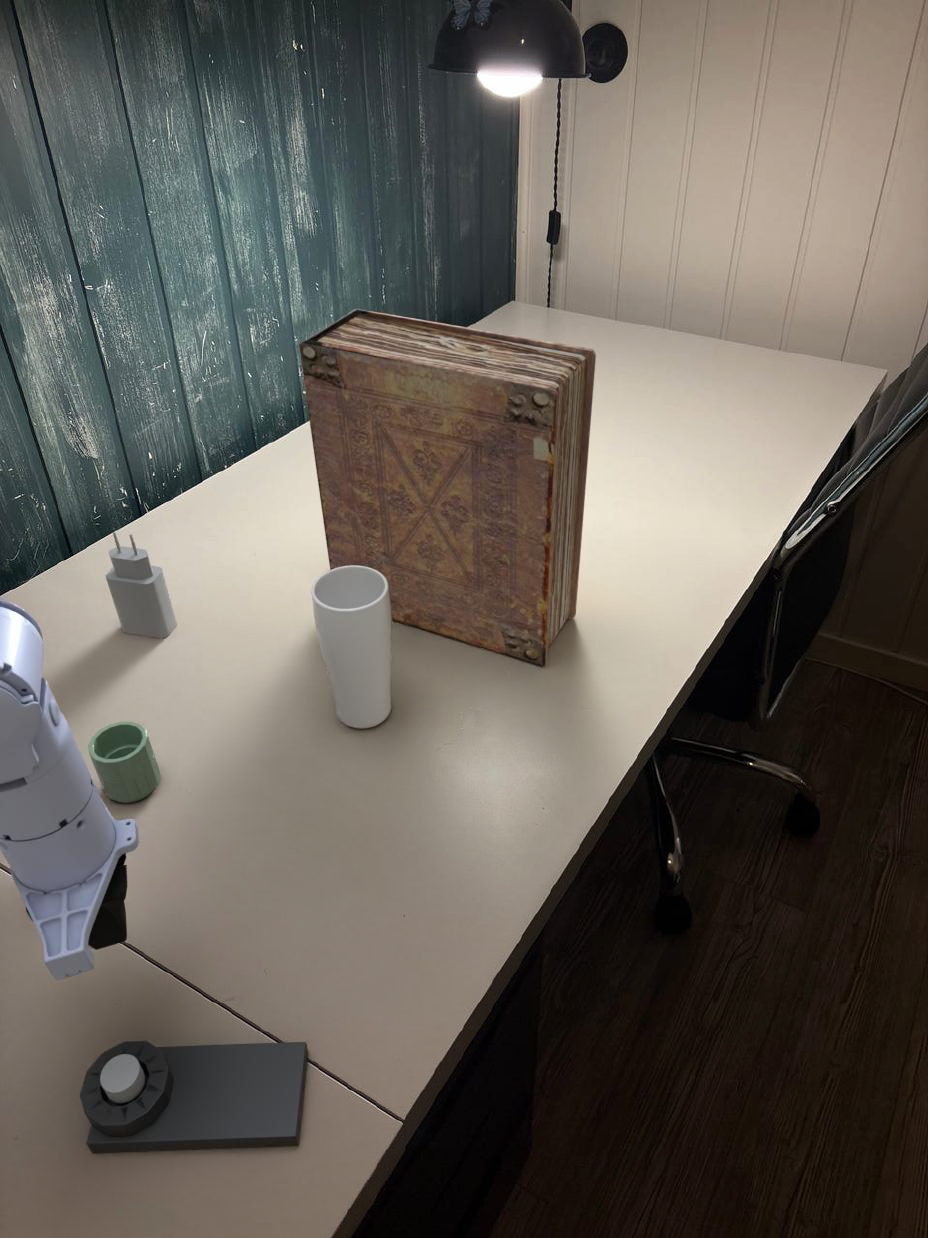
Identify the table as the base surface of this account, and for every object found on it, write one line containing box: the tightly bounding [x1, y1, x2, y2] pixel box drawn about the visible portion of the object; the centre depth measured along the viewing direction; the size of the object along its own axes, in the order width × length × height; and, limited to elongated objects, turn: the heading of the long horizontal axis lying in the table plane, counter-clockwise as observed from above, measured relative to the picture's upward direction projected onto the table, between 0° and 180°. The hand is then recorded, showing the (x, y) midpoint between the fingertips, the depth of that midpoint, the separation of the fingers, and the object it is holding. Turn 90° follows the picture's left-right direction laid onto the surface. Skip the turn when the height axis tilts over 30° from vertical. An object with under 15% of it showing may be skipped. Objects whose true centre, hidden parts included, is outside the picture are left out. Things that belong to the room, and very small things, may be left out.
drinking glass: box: [310, 565, 393, 729], centre depth 83 cm, size 7×7×15 cm
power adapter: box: [105, 531, 178, 639], centre depth 95 cm, size 3×5×12 cm, turn 76°
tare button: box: [100, 1054, 145, 1103], centre depth 58 cm, size 2×2×2 cm
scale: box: [79, 1040, 309, 1154], centre depth 59 cm, size 14×6×3 cm, turn 92°
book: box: [298, 308, 597, 668], centre depth 91 cm, size 25×9×30 cm, turn 63°
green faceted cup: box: [87, 720, 161, 804], centre depth 80 cm, size 5×5×6 cm
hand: (110, 936), depth 59 cm, fingers closed
